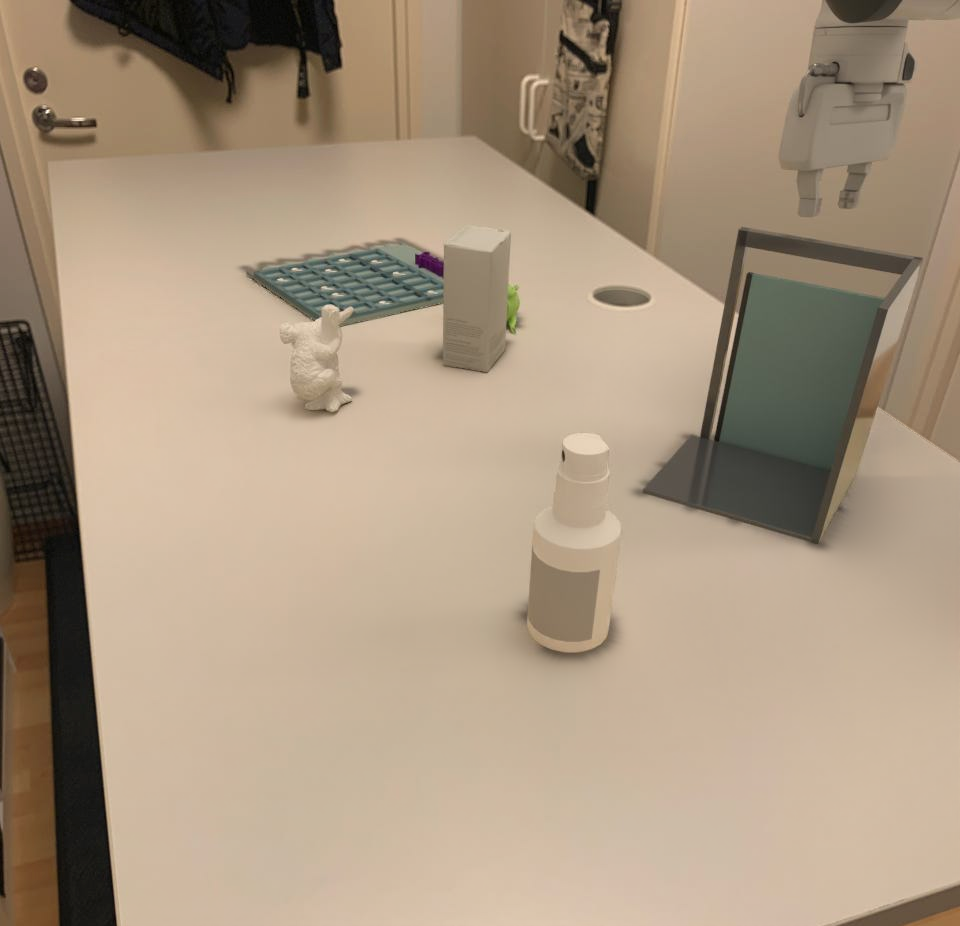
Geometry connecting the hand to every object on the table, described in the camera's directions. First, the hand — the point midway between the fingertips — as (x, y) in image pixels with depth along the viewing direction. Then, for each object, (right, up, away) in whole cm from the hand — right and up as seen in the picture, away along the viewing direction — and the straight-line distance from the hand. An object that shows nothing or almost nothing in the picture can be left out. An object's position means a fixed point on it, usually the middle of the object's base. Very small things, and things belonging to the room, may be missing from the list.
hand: (828, 212), depth 102 cm
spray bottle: (-31, -46, -23) cm, 60 cm away
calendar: (-55, +9, +44) cm, 71 cm away
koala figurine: (-57, -19, +10) cm, 60 cm away
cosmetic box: (-38, -9, +22) cm, 45 cm away
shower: (-10, -31, -4) cm, 33 cm away
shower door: (-4, -25, +3) cm, 26 cm away
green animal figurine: (-35, -2, +32) cm, 47 cm away
